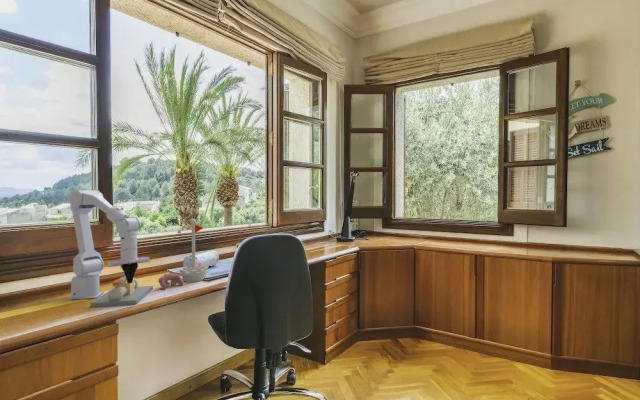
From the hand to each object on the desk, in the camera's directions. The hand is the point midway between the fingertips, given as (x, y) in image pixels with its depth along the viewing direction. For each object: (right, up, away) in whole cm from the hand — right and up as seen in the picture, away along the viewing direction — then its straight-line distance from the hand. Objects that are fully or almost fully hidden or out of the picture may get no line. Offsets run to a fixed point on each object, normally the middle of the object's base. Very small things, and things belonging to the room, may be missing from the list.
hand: (129, 282), depth 140 cm
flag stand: (+13, -7, +36) cm, 39 cm away
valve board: (-5, -7, +6) cm, 11 cm away
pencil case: (+8, -6, +60) cm, 61 cm away
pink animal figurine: (+7, -7, +22) cm, 24 cm away
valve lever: (-4, 0, +2) cm, 5 cm away
